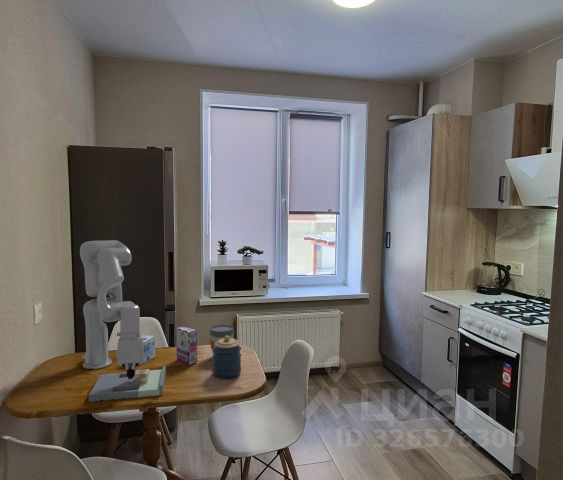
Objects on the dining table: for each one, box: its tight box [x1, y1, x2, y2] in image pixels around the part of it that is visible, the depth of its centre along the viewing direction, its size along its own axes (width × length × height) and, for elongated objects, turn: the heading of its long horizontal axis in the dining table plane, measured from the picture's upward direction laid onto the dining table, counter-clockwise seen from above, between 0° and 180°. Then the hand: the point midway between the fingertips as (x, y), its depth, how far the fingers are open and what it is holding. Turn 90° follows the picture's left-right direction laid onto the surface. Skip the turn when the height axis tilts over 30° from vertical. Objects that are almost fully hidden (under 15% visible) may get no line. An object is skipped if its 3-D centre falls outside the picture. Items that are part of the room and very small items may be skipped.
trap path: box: [88, 365, 167, 402], centre depth 162 cm, size 27×20×4 cm
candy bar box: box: [176, 326, 198, 366], centre depth 191 cm, size 11×5×16 cm, turn 47°
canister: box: [211, 336, 242, 380], centre depth 176 cm, size 13×13×18 cm
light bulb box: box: [140, 334, 156, 364], centre depth 193 cm, size 11×7×11 cm, turn 168°
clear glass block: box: [135, 368, 150, 384], centre depth 162 cm, size 5×5×4 cm
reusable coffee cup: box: [208, 324, 235, 355], centre depth 197 cm, size 13×13×15 cm
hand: (130, 377), depth 161 cm, fingers closed
